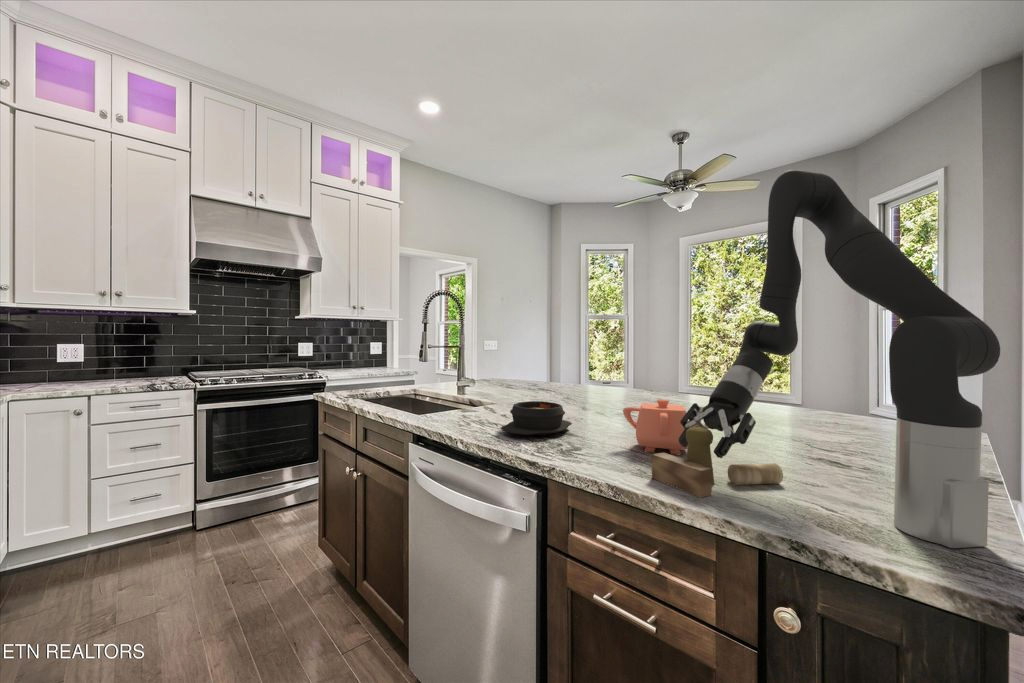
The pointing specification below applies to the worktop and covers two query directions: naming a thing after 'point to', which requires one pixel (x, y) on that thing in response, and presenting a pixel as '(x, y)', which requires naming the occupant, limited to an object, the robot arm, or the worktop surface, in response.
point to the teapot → (658, 425)
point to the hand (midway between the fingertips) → (698, 449)
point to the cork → (699, 446)
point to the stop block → (682, 474)
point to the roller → (755, 474)
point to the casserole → (536, 418)
